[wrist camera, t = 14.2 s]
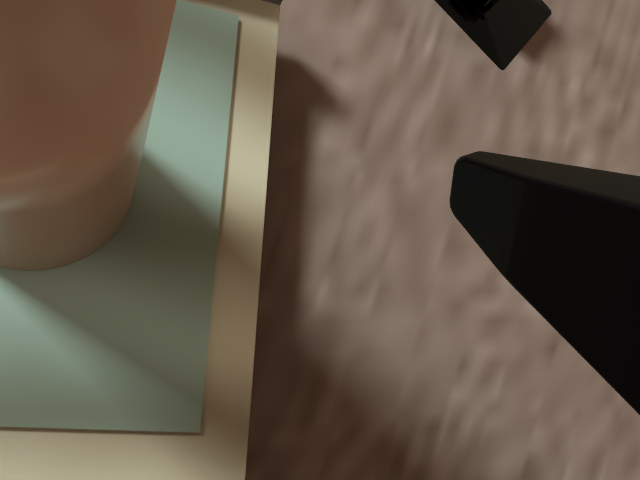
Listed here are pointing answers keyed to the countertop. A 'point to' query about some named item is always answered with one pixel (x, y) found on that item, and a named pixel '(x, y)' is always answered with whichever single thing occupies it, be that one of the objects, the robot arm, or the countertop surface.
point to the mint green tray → (156, 284)
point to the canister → (73, 121)
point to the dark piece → (498, 24)
